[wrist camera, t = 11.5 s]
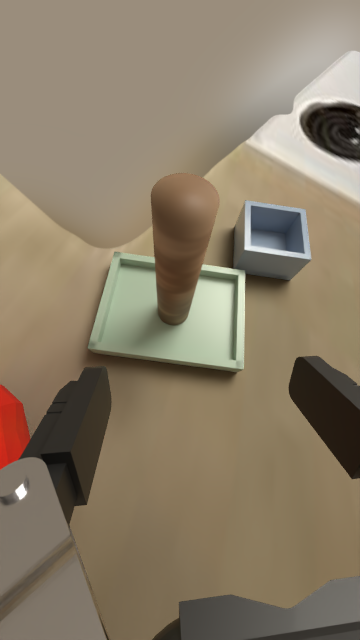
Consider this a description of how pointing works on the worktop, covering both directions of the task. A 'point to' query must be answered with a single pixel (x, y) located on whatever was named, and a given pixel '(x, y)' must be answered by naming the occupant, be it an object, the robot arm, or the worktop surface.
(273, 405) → the worktop surface
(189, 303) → the dowel
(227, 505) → the worktop surface
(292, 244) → the pale blue open box
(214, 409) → the worktop surface
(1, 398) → the tomato
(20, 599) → the robot arm
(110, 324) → the tray
